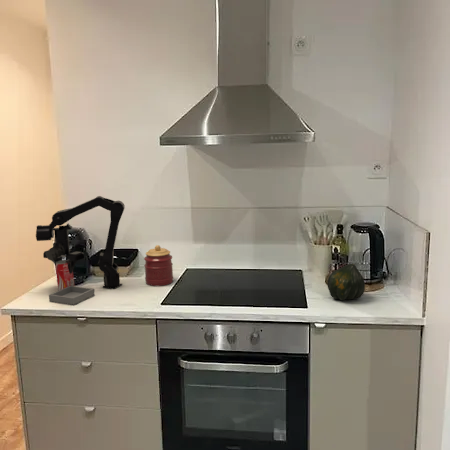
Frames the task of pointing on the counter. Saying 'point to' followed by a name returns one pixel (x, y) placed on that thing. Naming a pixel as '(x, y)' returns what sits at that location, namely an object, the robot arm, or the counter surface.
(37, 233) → the robot arm
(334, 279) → the squash
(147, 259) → the canister
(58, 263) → the soda can
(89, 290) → the bin
